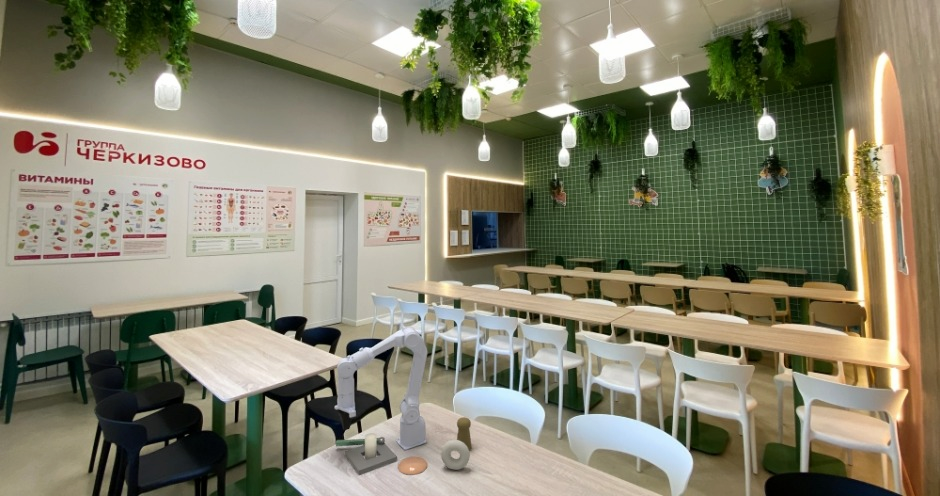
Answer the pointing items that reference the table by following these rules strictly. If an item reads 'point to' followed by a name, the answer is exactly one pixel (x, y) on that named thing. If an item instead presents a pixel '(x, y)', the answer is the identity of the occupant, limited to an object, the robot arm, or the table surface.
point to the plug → (370, 446)
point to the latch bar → (358, 442)
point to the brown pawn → (464, 431)
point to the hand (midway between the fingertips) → (346, 428)
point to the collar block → (365, 465)
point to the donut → (451, 462)
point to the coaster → (412, 465)
